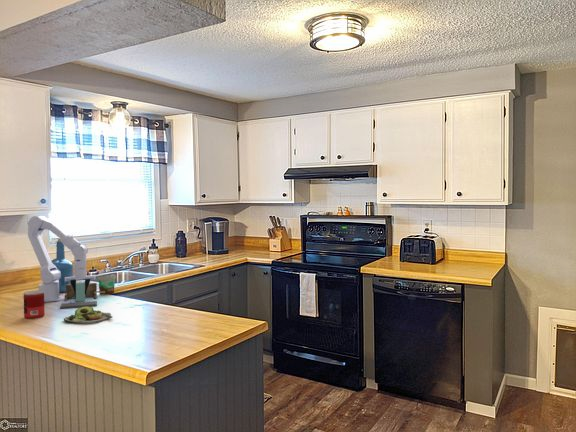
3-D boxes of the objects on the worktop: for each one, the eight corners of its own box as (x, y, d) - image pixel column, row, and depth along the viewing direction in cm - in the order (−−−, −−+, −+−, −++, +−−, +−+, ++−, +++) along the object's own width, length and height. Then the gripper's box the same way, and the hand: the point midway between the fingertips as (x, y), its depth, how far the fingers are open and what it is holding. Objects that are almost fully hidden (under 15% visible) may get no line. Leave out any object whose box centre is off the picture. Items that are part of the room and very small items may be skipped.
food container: (108, 295, 249) (107, 277, 249) (97, 294, 251) (97, 276, 250) (120, 291, 262) (120, 273, 261) (110, 290, 263) (110, 273, 263)
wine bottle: (78, 289, 268) (78, 238, 267) (63, 293, 255) (63, 239, 254) (57, 288, 270) (57, 237, 269) (41, 292, 257) (41, 239, 256)
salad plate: (124, 316, 202) (124, 306, 202) (96, 327, 185) (96, 315, 185) (88, 313, 208) (88, 303, 208) (57, 323, 191) (57, 312, 191)
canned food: (48, 315, 204) (48, 290, 203) (33, 319, 196) (32, 294, 196) (35, 314, 206) (35, 289, 206) (19, 318, 198) (19, 293, 198)
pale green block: (76, 301, 233) (75, 284, 233) (76, 298, 240) (76, 281, 240) (84, 301, 234) (84, 283, 234) (85, 298, 242) (85, 281, 242)
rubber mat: (60, 308, 216) (60, 306, 216) (61, 305, 224) (61, 303, 224) (96, 306, 222) (96, 304, 222) (97, 302, 230) (96, 300, 230)
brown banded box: (64, 301, 234) (64, 287, 234) (66, 297, 243) (65, 284, 243) (96, 298, 240) (96, 285, 240) (96, 295, 248) (96, 282, 248)
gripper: (95, 266, 243) (96, 291, 244) (65, 267, 238) (65, 293, 238) (95, 268, 237) (95, 294, 237) (64, 269, 231) (64, 296, 232)
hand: (80, 294), depth 237 cm, fingers closed on pale green block, 4 cm apart
